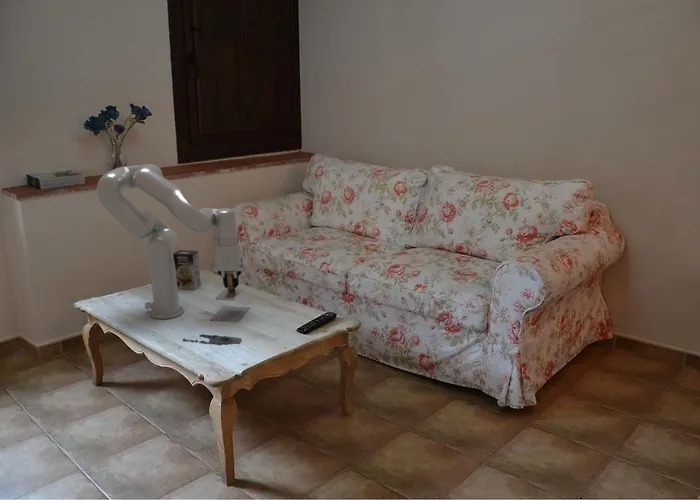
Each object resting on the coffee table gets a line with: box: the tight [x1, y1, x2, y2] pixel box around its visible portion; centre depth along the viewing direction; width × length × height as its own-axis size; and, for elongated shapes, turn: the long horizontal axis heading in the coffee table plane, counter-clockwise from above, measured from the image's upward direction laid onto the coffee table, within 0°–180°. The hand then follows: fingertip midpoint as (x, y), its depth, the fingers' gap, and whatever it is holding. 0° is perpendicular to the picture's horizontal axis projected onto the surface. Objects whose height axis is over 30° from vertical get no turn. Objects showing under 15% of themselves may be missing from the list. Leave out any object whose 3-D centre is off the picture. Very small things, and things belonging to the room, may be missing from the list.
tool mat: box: [209, 305, 251, 323], centre depth 250 cm, size 11×14×1 cm
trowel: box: [215, 272, 243, 302], centre depth 247 cm, size 7×10×8 cm
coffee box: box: [173, 249, 201, 291], centre depth 280 cm, size 9×6×16 cm
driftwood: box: [182, 334, 242, 346], centre depth 227 cm, size 21×7×2 cm, turn 73°
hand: (231, 286), depth 250 cm, fingers closed on trowel, 3 cm apart
